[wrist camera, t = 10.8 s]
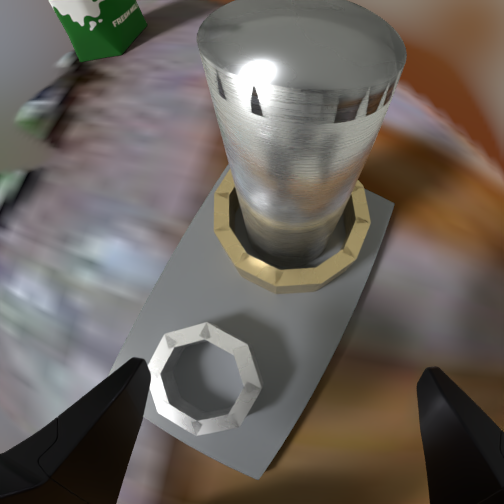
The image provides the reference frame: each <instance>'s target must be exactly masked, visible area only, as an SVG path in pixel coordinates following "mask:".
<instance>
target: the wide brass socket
mask: <svg viewBox="0 0 504 504" xmlns="http://www.w3.org/2000/svg"><path fill="white" fill-rule="evenodd" d="M239 207H240V204H239V200H238V196H237V192H236V188H235V184H234V181H233V177H232V173H231V169H230V170H229V171H228V173H227V174H226V176H225V177H224V179H223V180H222V182H221V184H220V185H219V187H218V188H217V190H216V191H215V193H214V233H215V234H216V236H217V238H218V240H219V242H220V244H221V245H222V247H223V249H224V250H225V252H226V253H227V255H228V257H229V258H230V260H231V261H232V263H233V264H234V266H235V268H236V269H237V271H238V272H239V274H240V275H241V277H242V278H244V279H246V280H248V281H250V282H252V283H254V284H256V285H258V286H260V287H262V288H264V289H266V290H268V291H270V292H272V293H274V294H290V293H306V292H316V291H317V290H319V289H320V288H321V287H323V286H324V285H326V284H327V283H329V282H330V281H332V280H333V279H334V278H336V277H337V276H339V275H340V274H342V273H343V272H344V271H346V270H347V269H348V268H349V266H350V265H351V264H352V263H353V262H354V261H355V260H356V259H357V256H358V254H359V251H360V249H361V246H362V244H363V241H364V239H365V236H366V234H367V231H368V229H369V226H370V223H371V221H370V216H369V211H368V205H367V200H366V196H365V191H364V186H363V185H362V184H361V182H360V181H359V180H357V182H356V185H355V187H354V189H353V191H352V193H351V195H350V198H349V200H348V202H347V204H346V206H345V208H344V210H343V218H344V225H345V232H346V237H345V239H344V242H343V244H342V246H341V249H340V251H339V252H338V253H337V254H335V255H334V256H332V257H331V258H329V259H328V260H326V261H325V262H323V263H322V264H320V265H319V266H317V267H316V268H301V269H285V270H279V269H277V268H275V267H273V266H271V265H269V264H267V263H265V262H263V261H261V260H258V259H256V258H254V257H252V256H250V255H248V254H247V253H246V251H245V250H244V248H243V247H242V245H241V244H240V242H239V241H238V239H237V238H236V236H235V213H236V212H237V210H238V208H239Z"/></svg>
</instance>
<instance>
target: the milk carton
mask: <svg viewBox="0 0 504 504" xmlns="http://www.w3.org/2000/svg"><path fill="white" fill-rule="evenodd" d="M49 2H50V4H51V6H52V7H53V9H54V11H55V13H56V15H57V16H58V18H59V20H60V21H61V23H62V25H63V27H64V29H65V30H66V32H67V34H68V36H69V38H70V40H71V43H72V44H73V47H74V49H75V51H76V54H77V56H78V58H79V60H80V62H84V61H89V60H94V59H100V58H106V57H112V56H118V55H122V54H123V53H124V52H125V50H126V49H127V48H128V47H129V46H130V44H131V43H132V42H133V41H134V40H135V39H136V37H137V36H138V35H139V34H140V33H141V32H142V31H143V30H144V28H145V27H146V26H147V23H146V21H145V19H144V17H143V15H142V12H141V10H140V8H139V6H138V4H137V2H136V0H49Z"/></svg>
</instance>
